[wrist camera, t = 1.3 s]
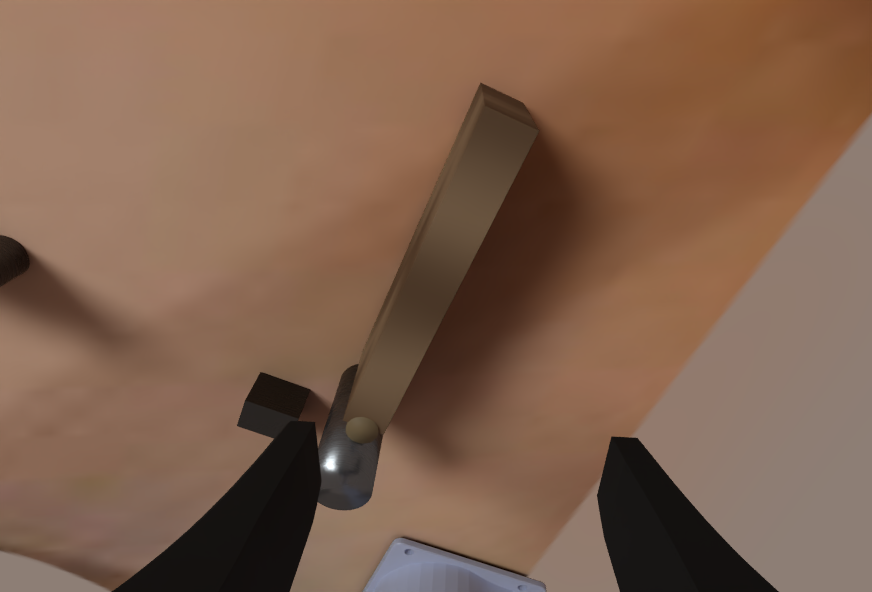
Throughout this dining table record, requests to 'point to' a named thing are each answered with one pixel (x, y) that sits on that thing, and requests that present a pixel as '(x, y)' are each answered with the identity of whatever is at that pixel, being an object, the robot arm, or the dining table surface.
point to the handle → (439, 255)
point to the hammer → (283, 417)
